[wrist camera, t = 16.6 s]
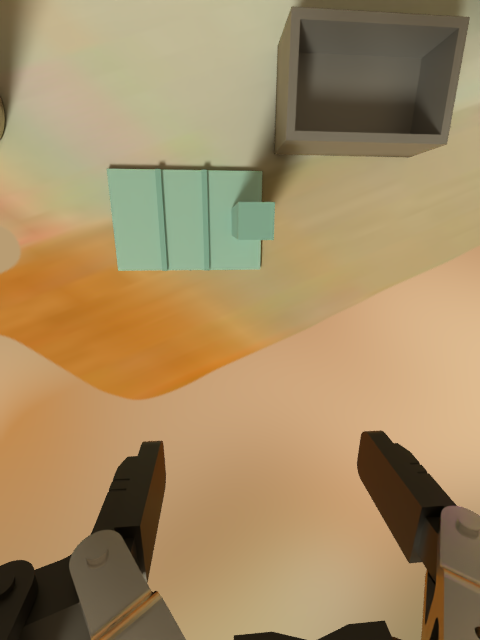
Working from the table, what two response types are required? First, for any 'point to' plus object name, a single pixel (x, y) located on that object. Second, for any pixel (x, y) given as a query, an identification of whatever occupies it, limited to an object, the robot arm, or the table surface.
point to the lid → (189, 219)
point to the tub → (366, 82)
